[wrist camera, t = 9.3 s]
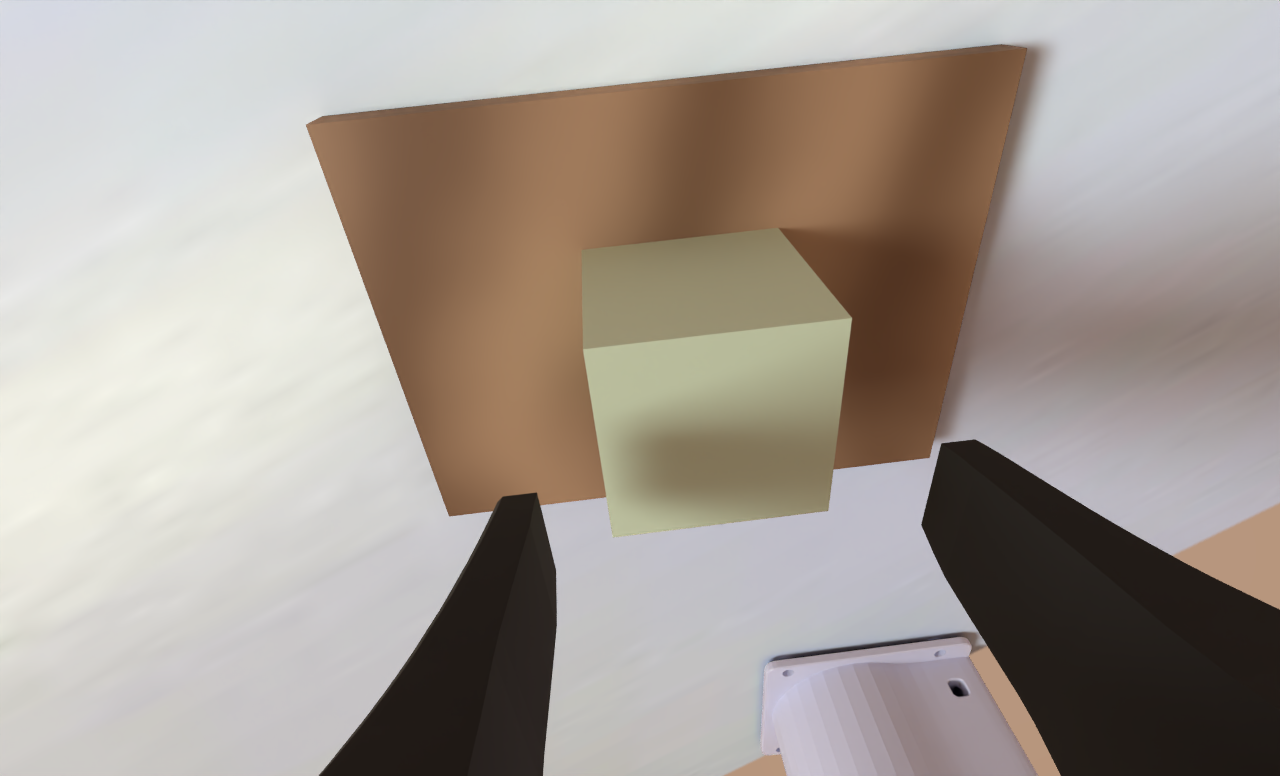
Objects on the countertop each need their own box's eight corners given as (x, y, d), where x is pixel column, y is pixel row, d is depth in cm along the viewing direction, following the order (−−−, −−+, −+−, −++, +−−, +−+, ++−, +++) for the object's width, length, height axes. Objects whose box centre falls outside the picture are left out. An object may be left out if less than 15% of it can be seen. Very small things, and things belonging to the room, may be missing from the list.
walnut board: (1001, 44, 14) (1027, 48, 14) (915, 439, 21) (929, 457, 20) (322, 116, 14) (305, 125, 13) (454, 495, 21) (449, 516, 20)
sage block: (778, 227, 15) (852, 317, 11) (771, 390, 18) (828, 510, 14) (581, 249, 15) (583, 349, 11) (604, 410, 18) (612, 537, 14)
